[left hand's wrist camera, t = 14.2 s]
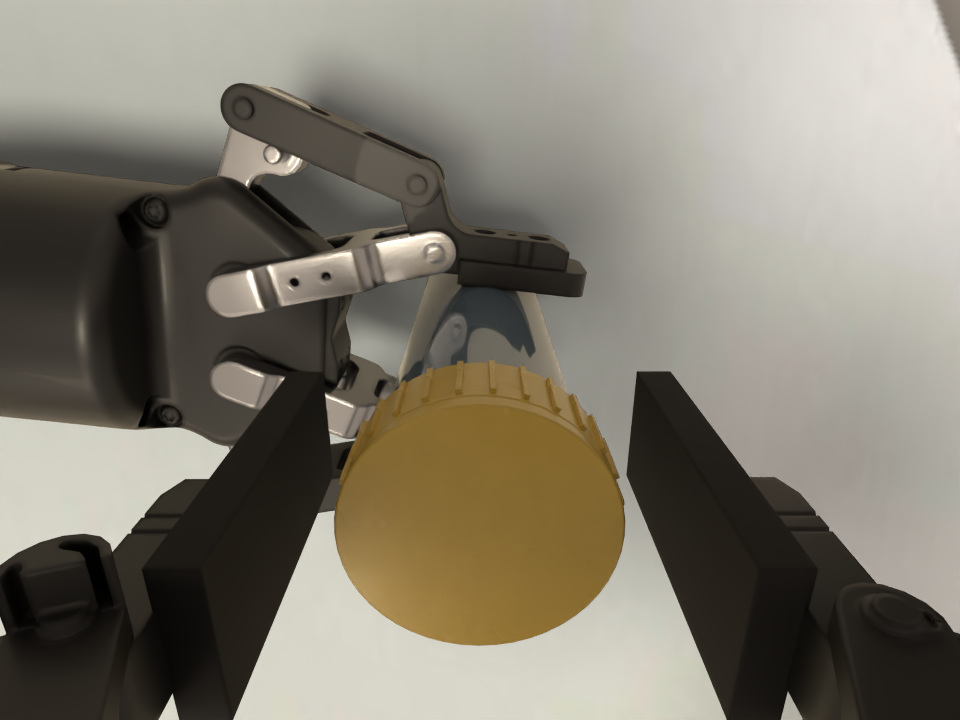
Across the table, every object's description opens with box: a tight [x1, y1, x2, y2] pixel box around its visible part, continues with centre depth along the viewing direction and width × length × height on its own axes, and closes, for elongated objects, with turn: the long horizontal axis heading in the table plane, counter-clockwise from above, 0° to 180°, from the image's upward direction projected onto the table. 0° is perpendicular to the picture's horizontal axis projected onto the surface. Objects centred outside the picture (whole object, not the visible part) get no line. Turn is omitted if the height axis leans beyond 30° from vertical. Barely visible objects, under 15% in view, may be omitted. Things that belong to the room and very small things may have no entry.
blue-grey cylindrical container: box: [392, 273, 568, 394], centre depth 18 cm, size 4×4×15 cm
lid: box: [334, 360, 625, 646], centre depth 11 cm, size 5×5×2 cm
